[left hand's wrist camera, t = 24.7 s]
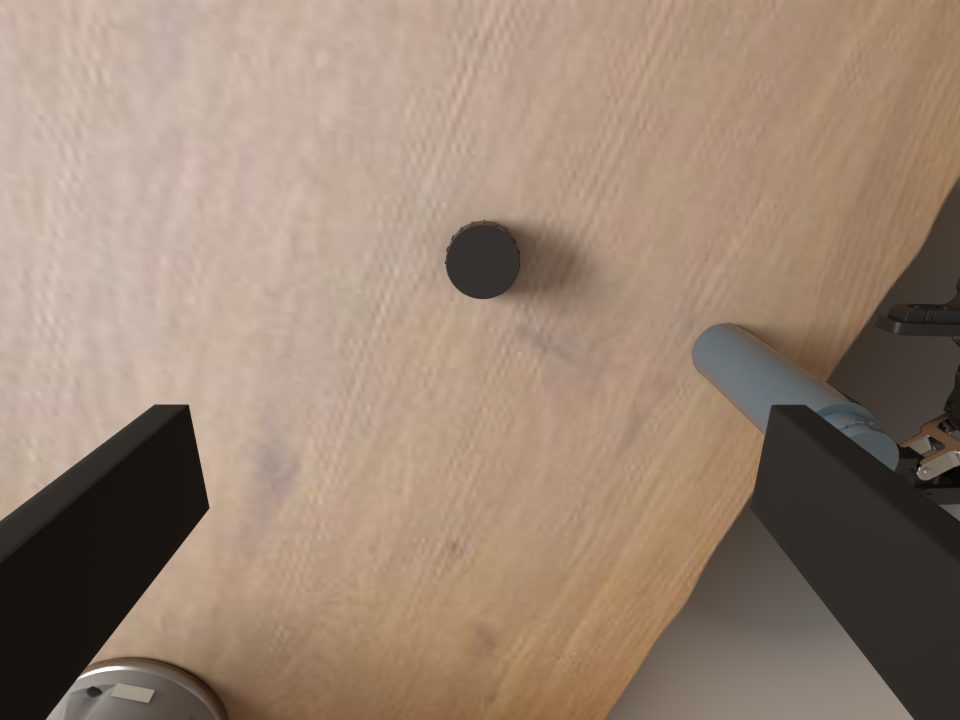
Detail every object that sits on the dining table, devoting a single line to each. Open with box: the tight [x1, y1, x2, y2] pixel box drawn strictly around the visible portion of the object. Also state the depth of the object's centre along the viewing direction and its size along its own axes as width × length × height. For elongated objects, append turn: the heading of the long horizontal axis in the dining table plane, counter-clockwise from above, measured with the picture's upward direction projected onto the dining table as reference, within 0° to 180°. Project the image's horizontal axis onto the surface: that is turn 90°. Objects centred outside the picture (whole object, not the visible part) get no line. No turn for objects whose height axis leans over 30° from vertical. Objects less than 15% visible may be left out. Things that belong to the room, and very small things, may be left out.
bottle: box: [692, 323, 899, 471], centre depth 32 cm, size 4×4×15 cm
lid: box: [445, 220, 520, 299], centre depth 36 cm, size 5×5×2 cm
